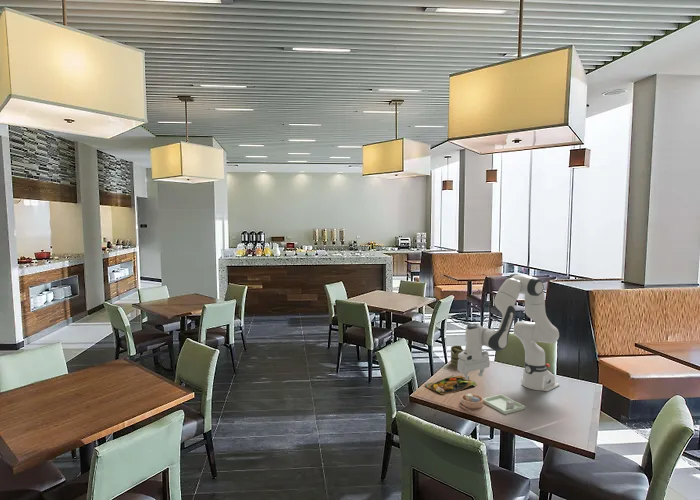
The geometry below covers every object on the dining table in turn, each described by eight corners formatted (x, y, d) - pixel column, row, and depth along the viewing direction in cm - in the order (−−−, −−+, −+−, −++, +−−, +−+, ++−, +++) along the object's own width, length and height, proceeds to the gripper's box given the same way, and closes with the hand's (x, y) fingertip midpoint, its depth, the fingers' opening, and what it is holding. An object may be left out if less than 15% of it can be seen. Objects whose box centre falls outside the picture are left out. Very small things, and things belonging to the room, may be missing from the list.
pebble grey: (509, 406, 219) (510, 399, 219) (515, 409, 216) (515, 402, 216) (504, 408, 218) (504, 401, 218) (510, 411, 214) (510, 404, 214)
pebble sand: (469, 399, 229) (469, 393, 228) (474, 402, 225) (474, 395, 225) (463, 400, 227) (463, 394, 227) (468, 403, 223) (468, 397, 223)
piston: (459, 351, 278) (447, 347, 288) (459, 368, 279) (447, 363, 289) (471, 348, 284) (458, 344, 294) (470, 365, 285) (458, 360, 295)
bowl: (472, 398, 231) (472, 392, 231) (487, 406, 221) (487, 400, 221) (456, 402, 226) (456, 396, 226) (471, 410, 216) (471, 404, 216)
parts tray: (500, 397, 232) (500, 394, 232) (524, 409, 217) (524, 405, 217) (481, 402, 226) (481, 398, 226) (505, 415, 211) (505, 411, 211)
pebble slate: (475, 403, 224) (475, 396, 224) (480, 406, 220) (480, 399, 220) (470, 404, 222) (470, 397, 222) (475, 407, 219) (475, 400, 219)
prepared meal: (444, 391, 234) (423, 380, 249) (444, 397, 234) (423, 386, 249) (477, 382, 249) (455, 373, 264) (477, 388, 249) (455, 378, 264)
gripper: (484, 348, 232) (484, 371, 234) (455, 354, 224) (455, 379, 225) (492, 351, 227) (492, 375, 228) (463, 358, 218) (463, 383, 219)
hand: (473, 377), depth 226 cm, fingers open, 8 cm apart
